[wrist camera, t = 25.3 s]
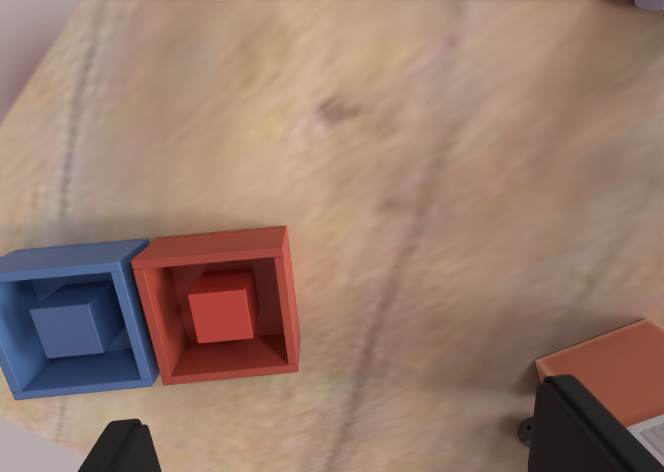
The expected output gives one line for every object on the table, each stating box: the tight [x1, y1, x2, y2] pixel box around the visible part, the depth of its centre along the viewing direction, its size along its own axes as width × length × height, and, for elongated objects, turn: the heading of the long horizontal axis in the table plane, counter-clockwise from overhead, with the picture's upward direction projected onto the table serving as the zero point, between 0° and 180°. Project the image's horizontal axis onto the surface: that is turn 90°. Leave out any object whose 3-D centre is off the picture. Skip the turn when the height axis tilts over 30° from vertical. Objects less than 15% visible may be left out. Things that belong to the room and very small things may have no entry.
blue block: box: [29, 280, 126, 358], centre depth 33 cm, size 5×5×5 cm
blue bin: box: [0, 238, 160, 400], centre depth 33 cm, size 12×12×6 cm
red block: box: [188, 267, 259, 343], centre depth 34 cm, size 5×5×5 cm
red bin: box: [131, 226, 300, 385], centre depth 34 cm, size 12×12×6 cm
